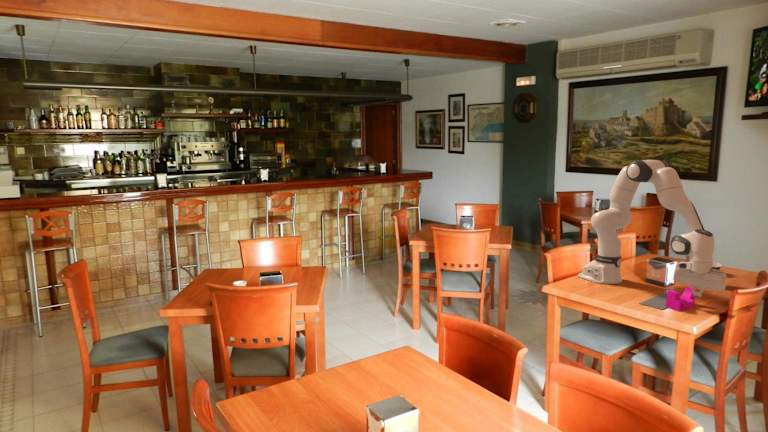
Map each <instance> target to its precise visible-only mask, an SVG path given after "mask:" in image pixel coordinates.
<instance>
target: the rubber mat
mask: <svg viewBox="0 0 768 432" xmlns="http://www.w3.org/2000/svg"><path fill="white" fill-rule="evenodd" d="M666 299H667V293H666V292H663V293H660V294H657V295H655V296H652V297H650V298H648V299H646V300H644V301H642V302H640V303H639V304H638V305H641V304H642V306H646V307H648V308H649V307H650V308H654V309H657V310H661V311H664V310H666V309H667V308H669V307H666Z"/></svg>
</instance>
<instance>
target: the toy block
mask: <svg viewBox="0 0 768 432" xmlns="http://www.w3.org/2000/svg"><path fill="white" fill-rule="evenodd" d="M695 289H696V290H697V287H696V288H695ZM666 294H667V299H666V307H668V308H670V309H672V310H674V311H675V310H676V311H678V312H679V311H680V312H681V311H683V310H688V309H692V308H694V305H695V301H696V296H693V291H692V289H691V285H688V286H687V285H686V286H685V289H684V291H683V293H682V294H681V295H680V291H676V290H674V289H668V290H667V293H666Z"/></svg>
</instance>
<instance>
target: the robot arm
mask: <svg viewBox="0 0 768 432" xmlns="http://www.w3.org/2000/svg"><path fill="white" fill-rule="evenodd" d="M640 183H651V184H653V186H654V188H655V192H656V196H657V200H658V201H659V203H660V205H661V206H662V207H663V208H664V209H667V210H670V211H673V212H675V213H677V214H679V215H680V216H681V217H682V218H683V220H684V223H685V225H686V227H687V229H688V232H686V233H681V234H676V235H674V236H673V237H672V238H671V240H670V249H671V251H672V252H673V253H674V254H675V255H678V256H679V255H680V256H686V255H688V256H689V257H690V258H689V260H688V261H686V260H682V261H679V262H677V263H676V268H674V272H673V276H672V277H673V282H675V283H677V284H678V283H679V284H682V285H686V286H687V285H688V286H690V287H691V289H692V291H693V296H695V297H698V298H701V297H702V296H703V293H704V291H706V290H710V291H715V292H719V293H721V292H723V291H725V289H726V280H727V274H726V272H724V270H721V269H719V270H716V269H712V263H713V262H714V259H713V254H714V252H715V236H714V234H713V233H712V232H711V231H709V230H706V229H705V227H704V225H703V223H702V221H701V219H700V216H699V214H698V211H697V209H696V207H695V205H694V204H693V202H692V201H691V200H690V199H689V198H688V196H687V194H686V192H685V190H684V187H683V184H682V180H681V178H680V176H679V174H678V172H677V170H676V169H675V168H673V167H670V166H669V164H668V163H667V162H665V161H663V160H660V159H644V160H643V159H638V160H634V161H631V162H630V163H629V164H627V165H626V166H624V167H622V168H621V170H620V172H619V173H618V174H617V177H616V179H615V181H614V183H613V186H612V188H611V191H610V193H609V195H608V196H609V197H608V198H609V200H610V206H609V208H608V209H602V210H599V211H596V212H595V213H594V214H592V216H591V217H590V225H591V226H592V228H593V229H594V230H595V232H596V234H597V239H598V244H597V245H598V246H597V253H595V254H594V255H593V258H594V259H593V260H592V261H590V262H588V263H586V264H585V265H583V268H582V271H581V272H580V273H577V274H578V275H577V277H578V278H581V279H584V280H587V281H590V282H593V283H595V284H599V285H600V284H606V285H607V284H609V285H615V284H621V283H622V282H623V279H622V276H621V275H622V274H621V264H622V255H621V252H622V251H621V249H622V240H621V239H620V238H619V236H618V233H617V230H619V229H623V228H625V227H627V226H628V225H630V224H631V222H632V218H633V217H632V214H631V205H632V203H633V199H634V197H635V194H636V192H637V191H638V188H639V186H640ZM695 288H696V289H695ZM697 288H699V290H700V291H697Z"/></svg>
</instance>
